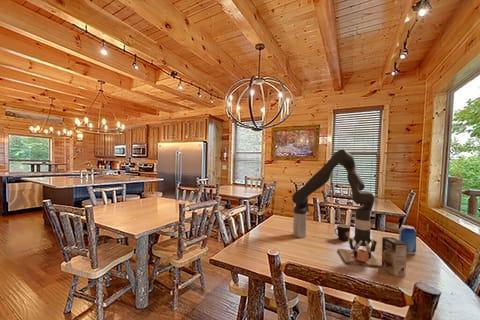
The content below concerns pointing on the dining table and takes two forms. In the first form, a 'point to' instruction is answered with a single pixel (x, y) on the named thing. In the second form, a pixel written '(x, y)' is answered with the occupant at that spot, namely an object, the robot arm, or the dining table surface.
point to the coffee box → (394, 256)
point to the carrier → (352, 260)
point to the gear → (362, 255)
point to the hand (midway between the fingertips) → (361, 257)
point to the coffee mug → (343, 232)
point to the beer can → (408, 238)
